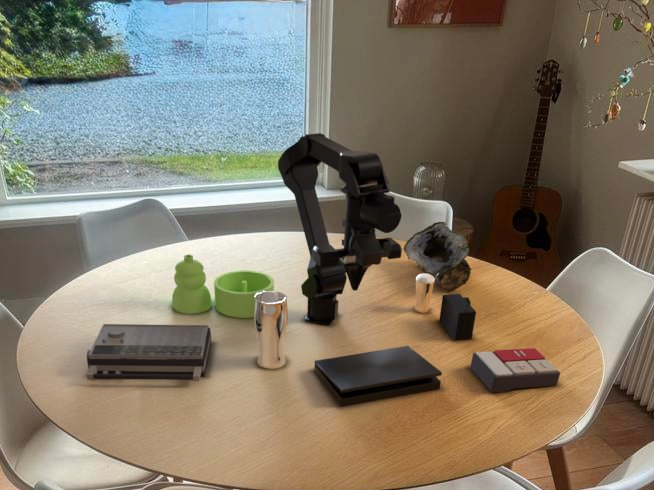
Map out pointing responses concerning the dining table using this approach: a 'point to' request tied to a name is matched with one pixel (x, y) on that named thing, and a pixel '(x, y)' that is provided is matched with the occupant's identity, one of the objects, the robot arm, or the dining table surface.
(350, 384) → the netbook screen
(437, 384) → the dark flat rectangular base
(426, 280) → the shiny metal cylinder
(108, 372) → the radio
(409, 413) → the dining table surface
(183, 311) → the green toy parts
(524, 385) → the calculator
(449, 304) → the digital camera
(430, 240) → the hollow geode rock
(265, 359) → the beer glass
